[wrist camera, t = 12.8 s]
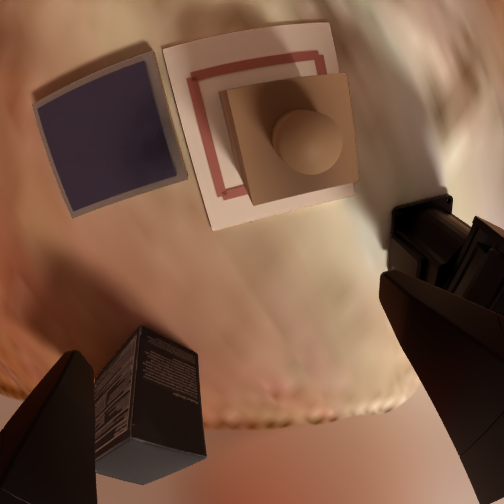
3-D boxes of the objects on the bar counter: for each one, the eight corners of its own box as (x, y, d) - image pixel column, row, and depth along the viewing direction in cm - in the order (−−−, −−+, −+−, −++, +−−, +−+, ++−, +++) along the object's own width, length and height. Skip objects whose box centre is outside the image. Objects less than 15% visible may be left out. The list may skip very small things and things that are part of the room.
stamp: (301, 76, 16) (363, 72, 9) (314, 153, 18) (375, 192, 12) (218, 91, 15) (229, 90, 9) (237, 170, 18) (259, 220, 12)
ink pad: (154, 52, 14) (150, 49, 13) (188, 175, 18) (187, 181, 17) (39, 103, 14) (29, 105, 12) (77, 212, 18) (70, 220, 17)
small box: (146, 402, 29) (144, 488, 20) (93, 378, 26) (78, 468, 17) (202, 354, 26) (212, 461, 17) (139, 322, 23) (125, 438, 14)
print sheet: (327, 23, 14) (329, 22, 14) (352, 194, 20) (355, 196, 20) (163, 50, 14) (162, 49, 13) (212, 229, 20) (212, 231, 20)
